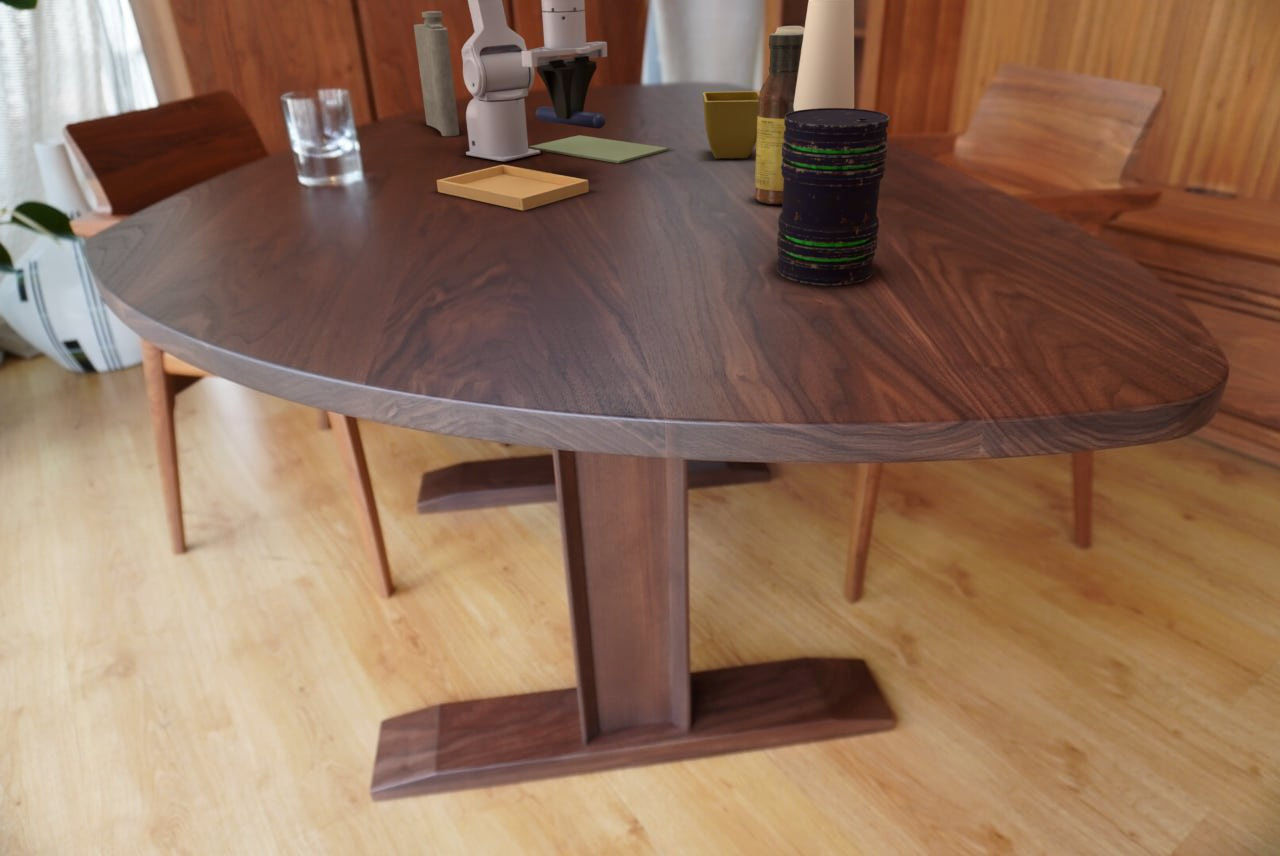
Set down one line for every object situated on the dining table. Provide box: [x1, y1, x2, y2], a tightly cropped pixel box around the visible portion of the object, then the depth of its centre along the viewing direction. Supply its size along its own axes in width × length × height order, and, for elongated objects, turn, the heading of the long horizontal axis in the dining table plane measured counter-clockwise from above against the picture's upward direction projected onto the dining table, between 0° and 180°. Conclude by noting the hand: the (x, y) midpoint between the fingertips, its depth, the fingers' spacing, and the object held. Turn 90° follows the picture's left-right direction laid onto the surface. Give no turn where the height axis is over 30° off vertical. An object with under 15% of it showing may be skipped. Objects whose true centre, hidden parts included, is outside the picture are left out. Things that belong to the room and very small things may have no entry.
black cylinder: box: [776, 108, 890, 286], centre depth 88 cm, size 10×10×15 cm
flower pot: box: [702, 90, 760, 160], centre depth 140 cm, size 9×9×9 cm
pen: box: [535, 105, 606, 130], centre depth 127 cm, size 13×2×2 cm, turn 49°
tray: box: [436, 164, 590, 212], centre depth 124 cm, size 17×12×2 cm
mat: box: [528, 134, 669, 164], centre depth 149 cm, size 20×12×1 cm, turn 50°
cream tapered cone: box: [793, 0, 855, 111], centre depth 102 cm, size 7×7×24 cm
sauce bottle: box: [754, 32, 803, 206], centre depth 112 cm, size 7×6×20 cm
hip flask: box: [413, 10, 460, 137], centre depth 164 cm, size 16×4×20 cm, turn 24°
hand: (569, 117), depth 127 cm, fingers closed on pen, 2 cm apart
